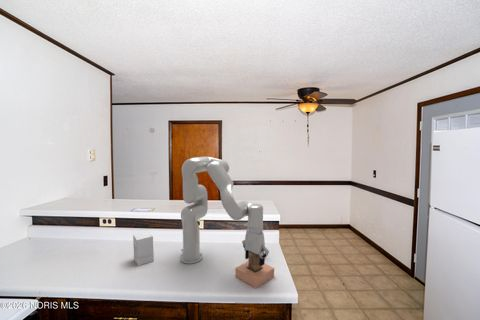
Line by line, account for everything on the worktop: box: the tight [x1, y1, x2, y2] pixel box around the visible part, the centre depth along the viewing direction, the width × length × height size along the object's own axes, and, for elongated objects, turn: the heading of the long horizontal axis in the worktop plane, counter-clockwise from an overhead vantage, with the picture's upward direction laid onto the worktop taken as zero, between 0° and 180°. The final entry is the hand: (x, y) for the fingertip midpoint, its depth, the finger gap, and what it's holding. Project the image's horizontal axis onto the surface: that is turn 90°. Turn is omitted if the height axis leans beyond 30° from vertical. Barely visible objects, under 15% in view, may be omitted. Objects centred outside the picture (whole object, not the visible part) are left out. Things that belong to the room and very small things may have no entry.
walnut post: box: [248, 251, 261, 273], centre depth 123 cm, size 4×4×13 cm
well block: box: [234, 260, 275, 289], centre depth 123 cm, size 14×14×4 cm
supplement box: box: [132, 231, 155, 267], centre depth 138 cm, size 9×9×15 cm
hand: (254, 261), depth 123 cm, fingers open, 9 cm apart
